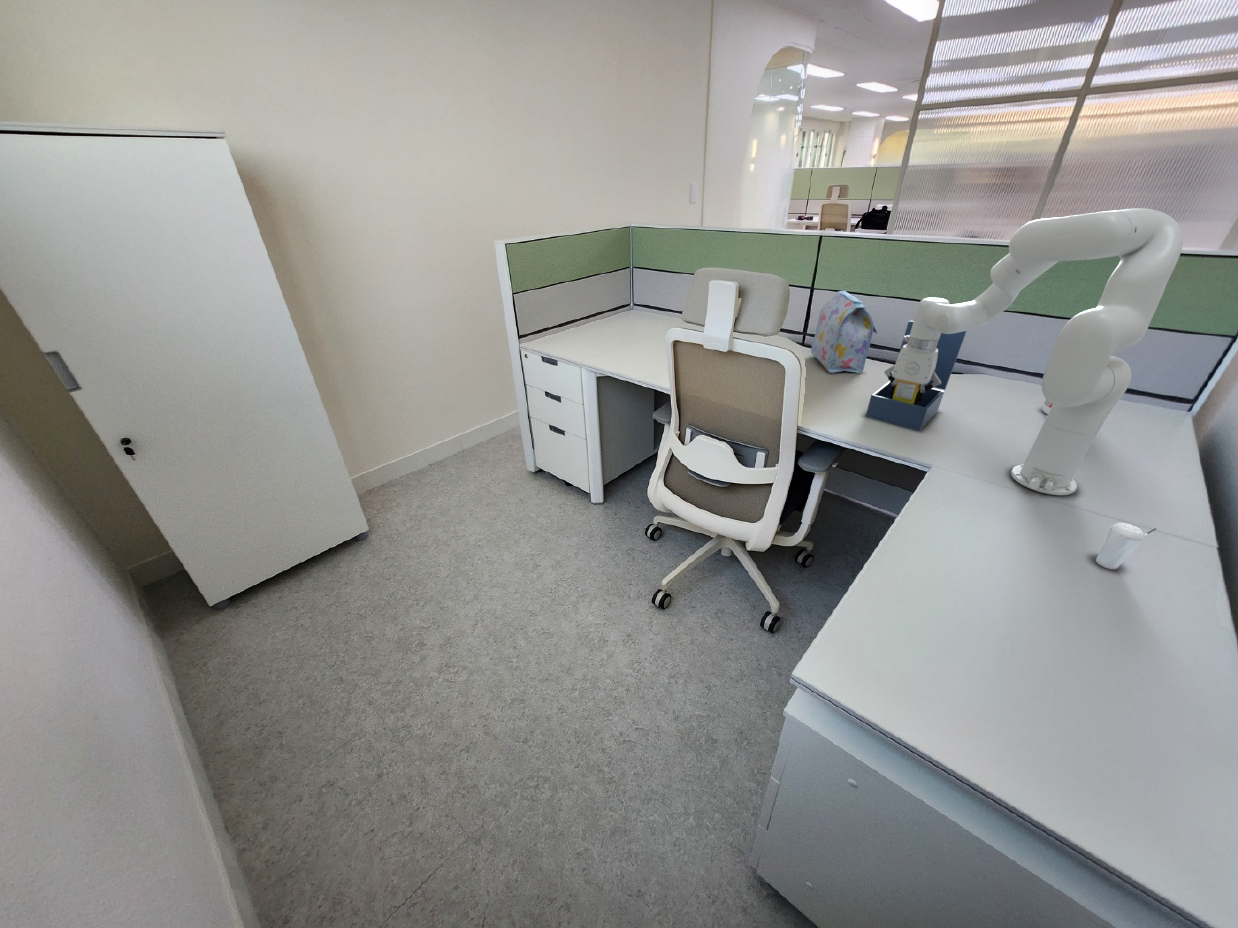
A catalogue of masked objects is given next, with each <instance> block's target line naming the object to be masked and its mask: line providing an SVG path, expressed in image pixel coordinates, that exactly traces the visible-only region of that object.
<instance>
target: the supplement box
mask: <svg viewBox="0 0 1238 928" xmlns="http://www.w3.org/2000/svg"><path fill="white" fill-rule="evenodd" d="M919 386H920V384H919V383H914V382H909V381H905V380H901V379H898V381H897V384H896V388H895V391H894V395H893V398H892V399H893V400H897V401H901V402H905V403H909V404H913V405H915V404H914V402H915V399H916V396H917V393H918V392H919V390H920V387H919Z"/></svg>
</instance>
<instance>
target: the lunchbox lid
mask: <svg viewBox="0 0 1238 928" xmlns="http://www.w3.org/2000/svg"><path fill="white" fill-rule="evenodd" d="M913 322H914V320H908V322H907V326H906V328H905V332H904V336H909V335H910V332H911V329H912V325H913ZM966 335H967V331H963V332H959V333H953V334H944V333H941V335H940V338H939V341H938V344H937V347H936V349H938V357H937V363H936V367H935V371H934V372H935V373H936V375H937V376H938V378H939V379H940V381H941V384H940V385H938V386H936V387H934V388H933V389H938V390H942V391H945V390H946V389H947V386H948V383H949V382H950V381H949V380H950V378H951V375H952V373H953V370H954V367H955V364H956V361H957V358H958V356H959V353H960V351H961V347H962V345H963V342H964V340H965V336H966ZM904 336H903V337H904ZM906 344H907V342H906V341H904V340H903V339H902V342H901V345H900V349H899V351H898V356H899V354H900V351H901V349H902V347H903V346H904V345H906ZM898 356H897V357H898ZM932 383H934V381H933V380H932V379H931V380H930V381H929V382H928V383H927V385H929V384H932Z"/></svg>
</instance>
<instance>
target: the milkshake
mask: <svg viewBox="0 0 1238 928" xmlns="http://www.w3.org/2000/svg"><path fill="white" fill-rule="evenodd" d="M1156 530H1157V528H1156V527H1155V528H1152V529H1151V530H1150V531H1148V532H1146V533H1144V532H1143V531H1142V529H1140V527H1137V526H1135V525H1133V524H1130V523H1126V522H1115V523H1114V524H1111V526H1110V528H1109V531H1108V532H1107V535H1106V538H1105V540H1104V542H1103V545H1102V547H1101V549H1100V550H1099V552H1098V554H1097V556H1096V559H1095V562H1096V563H1097V564H1098V565H1099V566H1101V567H1103V568H1105V569H1109V570H1117V569H1118V568H1119V567H1120V566H1121V565H1122V564H1123V563H1124V561H1125V560H1126V559H1127V558H1128V557H1129V555H1130V554H1131V553H1132V552H1133V551H1134V550H1135V549H1136V548H1137V547H1138V546H1139V545H1140V544H1141V542H1142V541H1144V539H1145V538H1146V536H1147V535H1149V534H1151V533H1153V532H1154V531H1156Z"/></svg>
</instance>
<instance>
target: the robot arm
mask: <svg viewBox="0 0 1238 928" xmlns="http://www.w3.org/2000/svg"><path fill="white" fill-rule="evenodd" d="M1183 244H1184V234H1183V231H1182V228H1181V226H1180V225H1179V223H1178V222H1177V221H1176V220H1175V219H1174V218H1173V217H1171V216H1170V215H1169V214H1167V213H1165V212H1163V211H1160V210H1157V209H1152V208H1146V207H1145V208H1144V207H1143V208H1140V207H1139V208H1138V207H1137V208H1136V207H1135V208H1124V209H1117V210H1105V211H1098V212H1097V211H1096V212H1090V213H1089V212H1088V213H1083V214H1075V215H1068V216H1061V217H1048V218H1047V217H1045V218H1039V219H1034V220H1032V221H1028V222H1027V223H1025V224H1024V225H1022V226H1021V227H1020V228H1018V229H1017V230H1016V231H1015V232H1014V233H1013V235H1012V236H1011V238H1010V241H1009V244H1008V253H1007V254H1006V255H1005V256H1004V257H1002V258H1001V259H1000V260H999V261H998V262H997V263H996V264H994V265H993V266H992V267H991V269H990V272H989V276H990V279H991V281H992V283H991V284H990V285H989V286H988V288H987V289H985V290H984V291H983V292H982V293H981V294H979V295H978V296H977V297H975V298H974V299H973V300H971V301H965V302H960V303H952V304H950V301H949V300H947V299H945V298H941V297H925V298H923V299H921V300H920V301H919V303H918V305H917V309H916V312H915V315H914V319H913V321H914V322H913V325H912V329H911V332H910V335H909V336H903V338H902V341H903V340H904V341H906V342H907V344H906V345H904V346H903V347H902V349H901V351H900V350H899V351H900V354H899V353H898V355H899V356H897V358H896V361H895V364H894V365H892V366H891V367H889V368H887V369H885V370H884V372H883V373H884V374H885V376H886V377H887V379H888V381H890V382H891V385H892V389H891V392H890V395H891V399H892V398H893V395H894V391H895V388H896V384H897V381H898V379H901V380H905V381H909V382H914V383H919V384H920V386H919V387H920V390H919V392H918V393H917V396H916V399H915V402H914V404H915V405H917V404H918V403H919V402H921V401H922V399H923V396H924V393H925V392H926V391H928V390H930V389H932V388H933V389H935V388H934V387H936V386H938V385H940V384H941V381H940V379H939V378H938V376H937V375H936V373H935V372H934V371H935V367H936V363H937V357H938V349H936V347H937V344H938V341H939V338H940V335H941V333H944V334H953V333H959V332H963V331H966V332H967V331H974V330H976V329H980V328H982V327H983V326H985V325H987V324H988V323H990V322H991V321H992V320H994V319H996V317H998V316H999V315H1001V314H1002V313H1003V312H1005V310H1007V309H1008V308H1009V307H1010V306H1011V305H1012V304H1013V302H1014V301H1015V300H1016V299H1017V298H1018V296H1019V294H1020V292H1021V291H1022V290H1024V288H1026V287H1027V286H1028V285H1030V284H1032V283H1033V282H1034V281H1035V280H1036V279H1038V278H1039V277H1040V276H1042V275H1043V274H1044V273H1045V272H1046V271H1047V272H1048V270H1049V269H1051V268H1052V267H1053V266H1055V265H1056V264H1057V263H1059V262H1070V261H1071V262H1072V261H1089V260H1091V261H1092V260H1099V259H1106V258H1113V257H1118V258H1119V259H1120V260H1119V263H1118V265H1117V266H1116V268H1114V270H1113V271H1112V273H1111V275H1110V276H1109V278H1108V280H1107V282H1106V284H1105V286H1104V289H1103V291H1102V295H1101V297H1100V299H1099V301H1098V303H1097V305H1096V307H1095V308H1090V309H1086V310H1083V311H1082V312H1081V311H1080V312H1079V313H1078V314H1076V315H1074V316H1073V317H1072V318H1070V319H1069V320H1068V321H1067V322H1066V323H1065V324H1064V326H1063V327H1062V329H1061V330H1060V332H1059V334H1058V335H1057V339H1056V341H1055V344H1054V347H1053V349H1052V352H1051V354H1050V357H1049V360H1048V363H1047V365H1046V368H1045V371H1044V373H1043V376H1042V380H1041V392H1042V395H1043V397H1044V398H1045V400H1046V399H1047V400H1048V401H1049V402H1050V403H1052V404H1053V406H1052V407H1051V409H1050V411H1049V413H1048V414H1046V417H1045V419H1044V420H1043V422H1042V425H1041V427H1040V429H1039V431H1038V433H1037V435H1036V437H1035V439H1034V442H1033V443H1032V445H1031V447H1030V449H1029V451H1028V454H1027V456H1026V458H1025V460H1024V462H1023V463H1022V464H1018V465H1015V466H1014V467H1012V470H1011V472H1010V475H1011V477H1012V478H1013V480H1014V481H1016V482H1017V483H1018V484H1020V485H1022V486H1023V487H1026V488H1028V489H1030V490H1032V491H1035V492H1039V493H1042V494H1047V495H1052V496H1068V495H1072V494H1074V493H1075V492H1076V490H1077V489H1078V484H1077V482H1076V481H1075V480H1074V476H1075V474H1076V473H1077V471H1078V469H1079V467H1080V466H1081V464H1082V462H1083V460H1084V459H1085V457H1086V455H1087V453H1088V451H1089V450H1090V448H1091V446H1092V444H1093V442H1094V440H1095V439H1096V437H1097V435H1098V433H1099V432H1100V430H1101V428H1102V426H1103V424H1104V423H1105V422H1106V420H1107V418H1108V416H1109V415H1110V413H1111V411H1112V410H1113V409H1114V408H1115V406H1116V405H1117V403H1118V402H1120V399H1121V398H1122V397H1123V396H1124V394H1125V393H1126V391H1127V389H1128V388H1129V386H1130V384H1131V381H1132V369H1131V366H1130V365H1129V364H1128V363H1127V361H1125V360H1124V359H1122V358H1120V357H1118V356H1115V355H1114V356H1113V353H1116V352H1119V351H1123V350H1126V349H1129V348H1131V347H1132V346H1135V345H1136V344H1137V343H1139V342H1140V341H1141V340H1142V339H1143V338H1144V337H1145V335H1146V332H1147V331H1148V328H1149V326H1150V325H1151V321H1152V319H1153V317H1154V315H1155V312H1156V311H1157V308H1158V306H1159V303H1160V301H1161V299H1162V297H1163V294H1164V292H1165V289H1166V287H1167V284H1168V283H1169V280H1170V278H1171V277H1172V276H1171V275H1172V274H1173V272H1174V269H1175V268H1176V265H1177V264H1178V262H1179V259H1180V256H1181V253H1182V249H1183V246H1184V245H1183ZM931 379H932V380H933V381H934V383H932V384H929V385H927V383H928V382H929V381H930V380H931Z"/></svg>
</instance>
